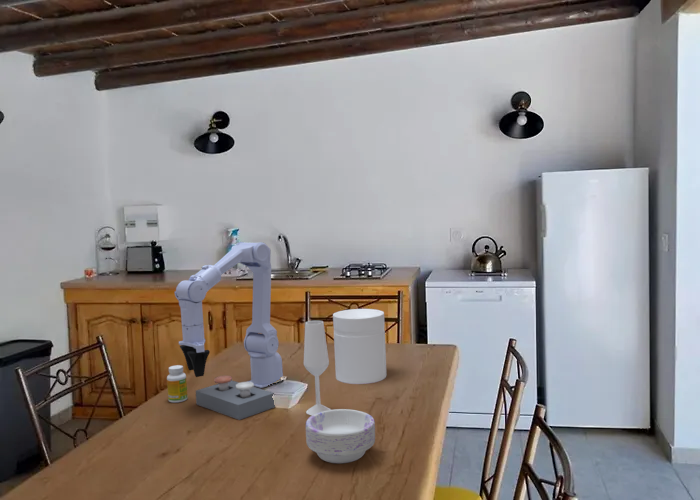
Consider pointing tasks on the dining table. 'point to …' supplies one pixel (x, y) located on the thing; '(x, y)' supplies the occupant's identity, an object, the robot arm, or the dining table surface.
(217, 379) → the red plunger
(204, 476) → the dining table surface
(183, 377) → the supplement bottle
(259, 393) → the panel
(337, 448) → the paper bowls
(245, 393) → the grey plunger
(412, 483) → the dining table surface
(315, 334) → the champagne flute
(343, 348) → the canister
